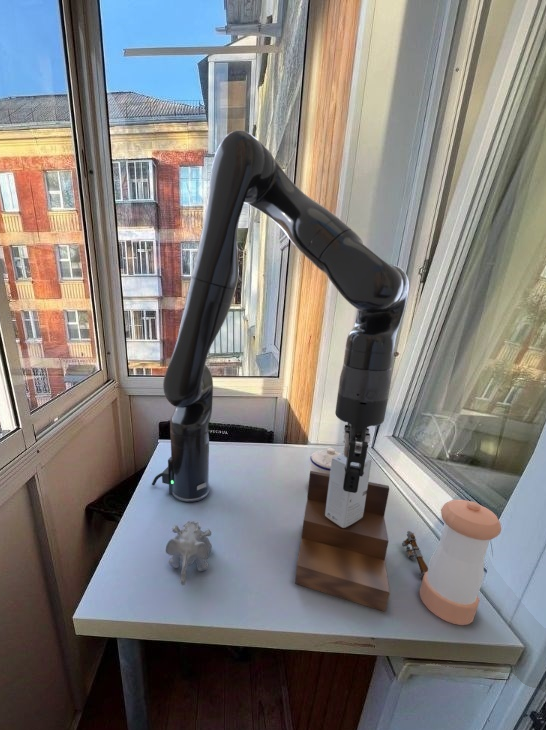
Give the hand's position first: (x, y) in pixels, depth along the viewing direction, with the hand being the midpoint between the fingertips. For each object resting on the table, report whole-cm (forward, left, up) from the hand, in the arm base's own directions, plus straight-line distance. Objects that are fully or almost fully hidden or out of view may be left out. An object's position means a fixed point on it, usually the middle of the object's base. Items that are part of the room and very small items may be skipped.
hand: (349, 479), depth 60 cm
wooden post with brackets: (+13, +2, -16) cm, 21 cm away
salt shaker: (+16, -5, -16) cm, 24 cm away
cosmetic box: (0, 0, -8) cm, 8 cm away
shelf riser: (0, -4, -16) cm, 17 cm away
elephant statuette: (-25, -15, -16) cm, 33 cm away
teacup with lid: (-2, +21, -16) cm, 27 cm away
